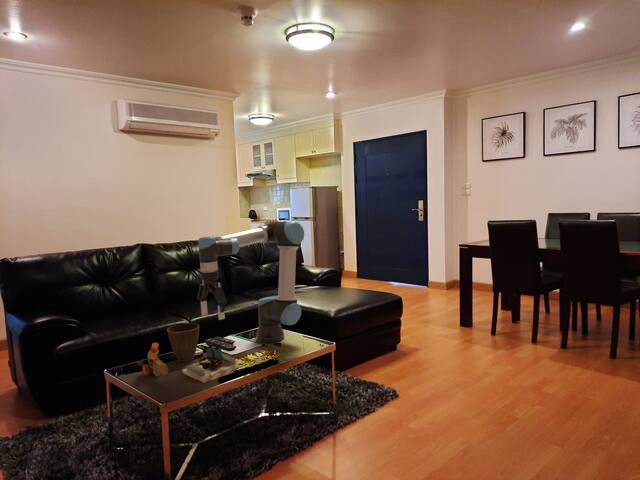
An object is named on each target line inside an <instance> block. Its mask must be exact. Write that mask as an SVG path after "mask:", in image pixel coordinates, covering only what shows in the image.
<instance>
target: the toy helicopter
mask: <svg viewBox="0 0 640 480" xmlns="http://www.w3.org/2000/svg"><path fill="white" fill-rule="evenodd" d="M159 351H160V350H159V343H158V342H153V343H152V345H151V348H150V350H149V351H148V352H147V362H148V363H146V364H143V365H142V372H143V375H144V376H149V375H150V373H151V372H152V374H154V376H155V377H156V378H157V377H160V376H166V375H168V373H169V368H168V365H167V363H165V362H163V360H161V359H160V358H159V356H158V355H159V353H160V352H159Z"/></svg>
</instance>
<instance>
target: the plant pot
mask: <svg viewBox="0 0 640 480" xmlns="http://www.w3.org/2000/svg"><path fill="white" fill-rule="evenodd" d="M166 332H167V335H168V336H167V337H168V339H169V344H170V346H171V349H172V352H173V353H174V356H175V358H176V359H177V362H179V363H187V362H190V361H193V360H194V358H195V356H196V351H197V348H198V342H199V334H200V324H198V323H192V322H191V323H181V324H176V325H171V326H170V327H168V328H166Z"/></svg>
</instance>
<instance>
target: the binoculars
mask: <svg viewBox="0 0 640 480" xmlns="http://www.w3.org/2000/svg"><path fill="white" fill-rule="evenodd" d="M220 345H221V344H220V343H218V344H215V345H214V346H213V343H212V342H207V347H206V355H205V356H204V357H202V358H201V359H199V361H198V362H199V364H200V365H202V368H203V369H208V368H209V367H210V370H215V369H217V367H218V366H219V367H221V366H223V363H222V362H223V356H222V355H223V352H222V348H221V347H220ZM206 360H208V361H210V363H200V362H202V361H206ZM216 363H218V364H216ZM210 365H212V366H210Z"/></svg>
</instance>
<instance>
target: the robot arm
mask: <svg viewBox="0 0 640 480" xmlns="http://www.w3.org/2000/svg"><path fill="white" fill-rule="evenodd" d="M304 238H305V229H304V226H302V224H301V223H299V222H297V221H292V220H287V221H286V220H285V221H283V220H282V221H279V220H278V221H273V222H270V223H266V224H263V225H262V224H261V225H259V226H257V227H256V228H252V229H248V230H244V231H243V230H242V231H238V232H233V233H229V234H226V235H225V234H224V235H220V236H216V237H215V236H202V237H199V238H198V255H199V263H200V265H199V267H200V279H201V280H199V287H198V293H197V297H196V299H197V300H198V301H199V303H200V308H201V309H200V311H201V316H202V317H203V316H206V315H209V314H208V301H207V297H208V294H209V293H211V294H212V295H213V297H214V298H215V300H216V302H217V313H218V314H217V315H218V321H220V320H224V319H226V316H225V305H226V304H228V300H227V298H226V295H225V292H224V289H223V287H222V282H221V281H220V282H217V280H218V279H219V271H218V270H219V267H218V257H223V256H231V255H236V254H238V252H239V251H240V248H242V247H246V246H250V245H254V244H258V243H260V244H268V243H273V244H275V243H277V244H276V246H277V248H278V249H279V265H278V266H279V267H278V270H279V271H278V287H277V288H278V291H277V293H278V294H277V296H274V295H273V296H267V297H262V298H260V299H258V301H257V313H258V329H257V334H256V335H255V336H256V337H255V338H256V342H258V343H259V342H260V343H264V344H265V343H267V344H268V343H271V344H272V343H277V342H280V341H283V340H284V339H285V333H284V331H283V327H282V325H285V326H293V325H295V324H296V323H297V322H298V321H299V320H300V318H301V316H302V308H301V306H300V305H299V304H298V297H296V294H295V293H296V291H295V290H296V270H297V269H296V267H297V265H296V264H297V251H298V249H299V248H300V244H301V243H302V242H303V241H304ZM281 324H282V325H281Z"/></svg>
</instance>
